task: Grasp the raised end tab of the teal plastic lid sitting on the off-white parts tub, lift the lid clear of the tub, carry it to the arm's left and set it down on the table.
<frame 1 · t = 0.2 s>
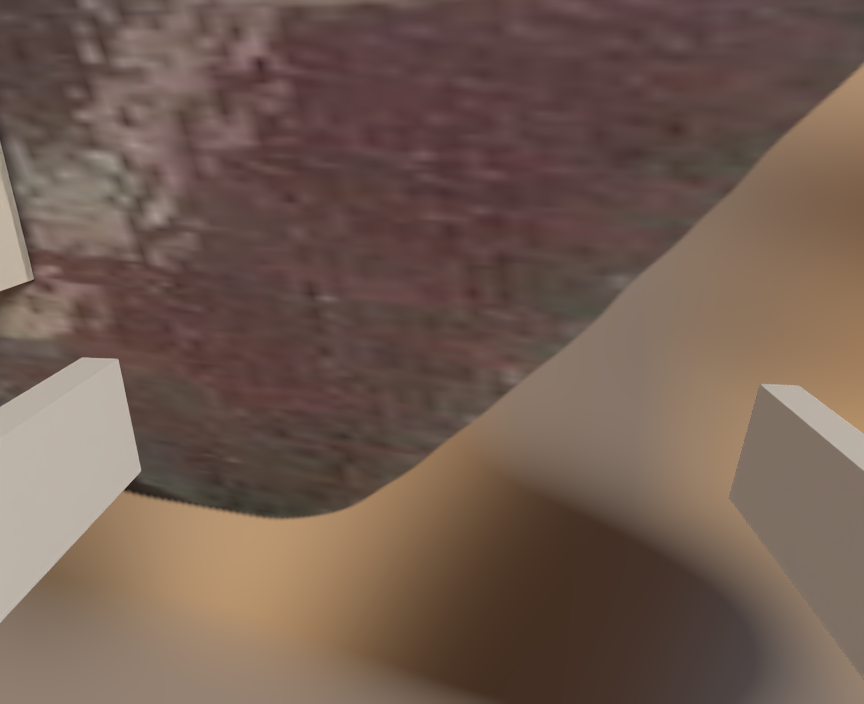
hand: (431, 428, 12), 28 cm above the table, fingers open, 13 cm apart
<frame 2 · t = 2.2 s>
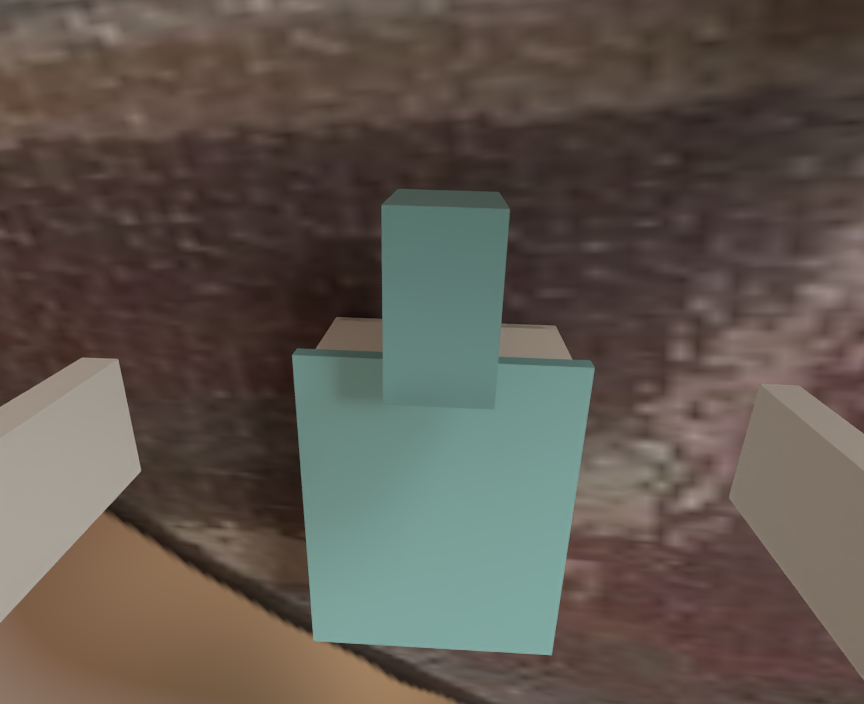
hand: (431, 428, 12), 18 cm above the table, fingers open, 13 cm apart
tub: (440, 447, 33), on the table
lid: (436, 511, 28), point 6 cm above the table, touching tub
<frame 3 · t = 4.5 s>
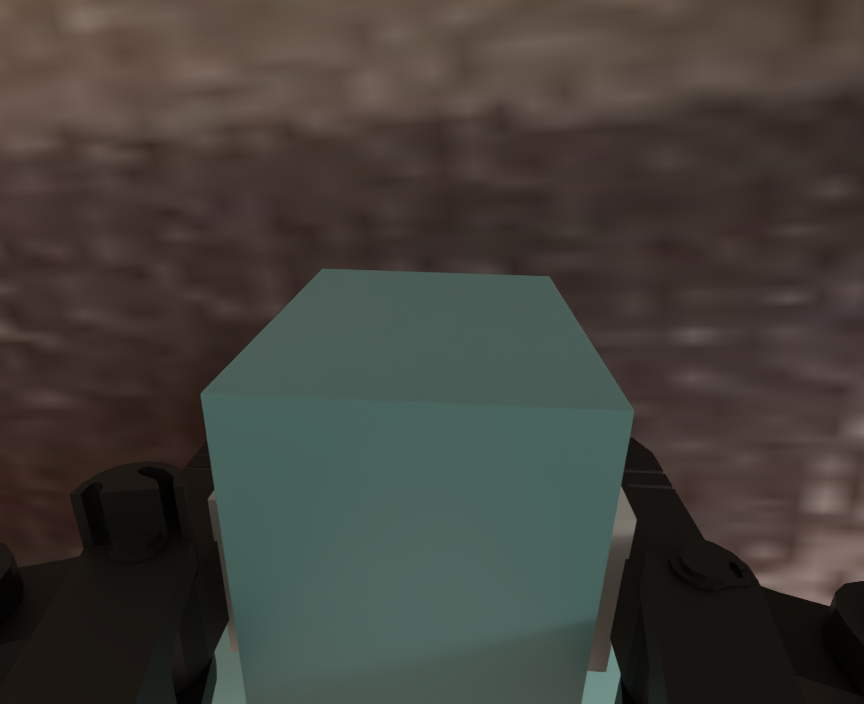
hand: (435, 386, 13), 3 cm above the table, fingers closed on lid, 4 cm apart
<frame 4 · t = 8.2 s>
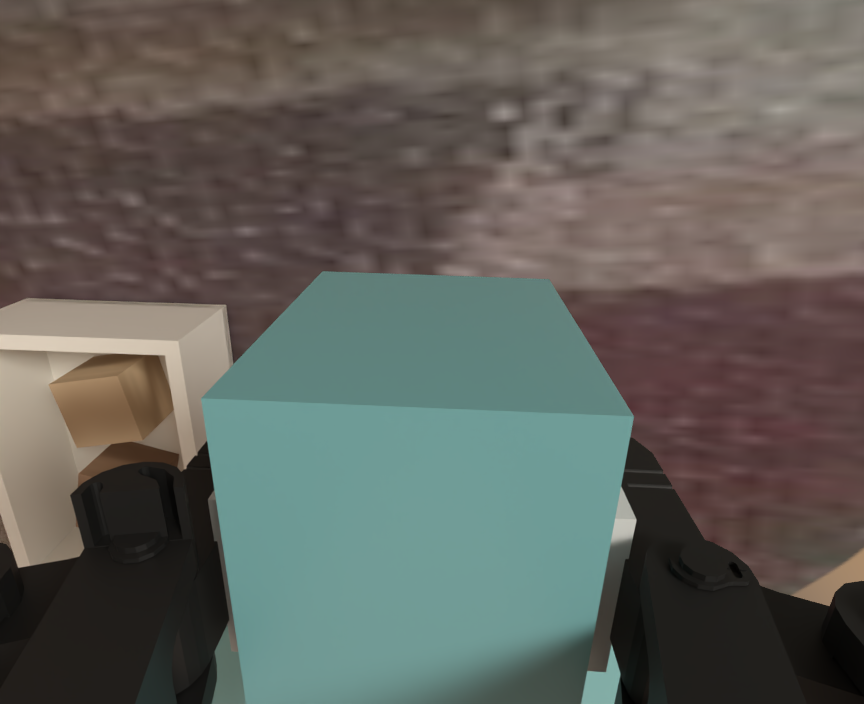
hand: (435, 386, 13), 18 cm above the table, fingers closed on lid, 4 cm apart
tub: (149, 420, 36), on the table
block a: (135, 382, 34), point 1 cm above the table, touching tub
block b: (146, 470, 36), point 1 cm above the table, touching tub
when the fingers open (0 cm above the table, at t = 12.2 s): lid drops 3 cm, on the table.
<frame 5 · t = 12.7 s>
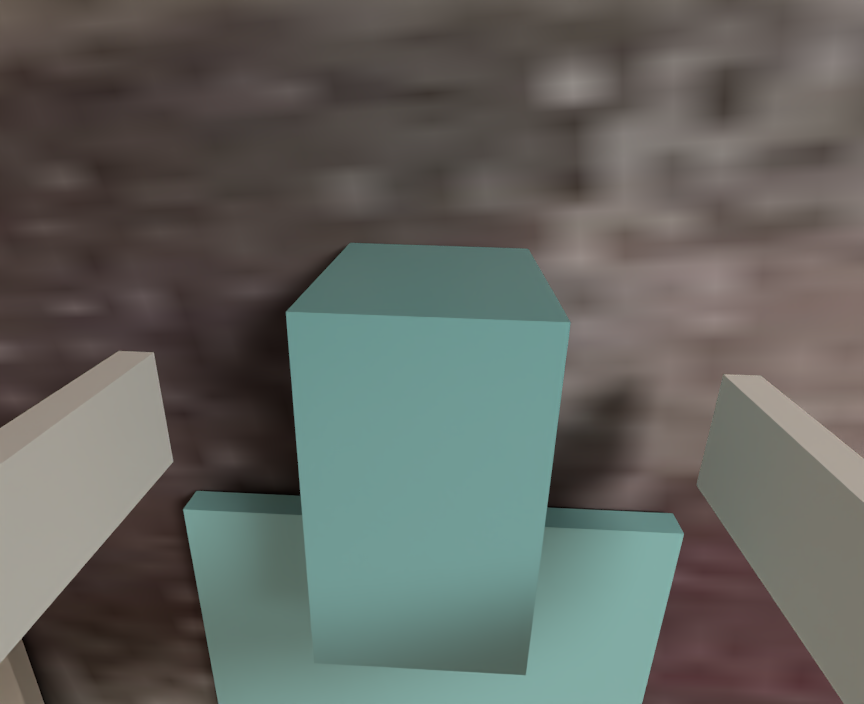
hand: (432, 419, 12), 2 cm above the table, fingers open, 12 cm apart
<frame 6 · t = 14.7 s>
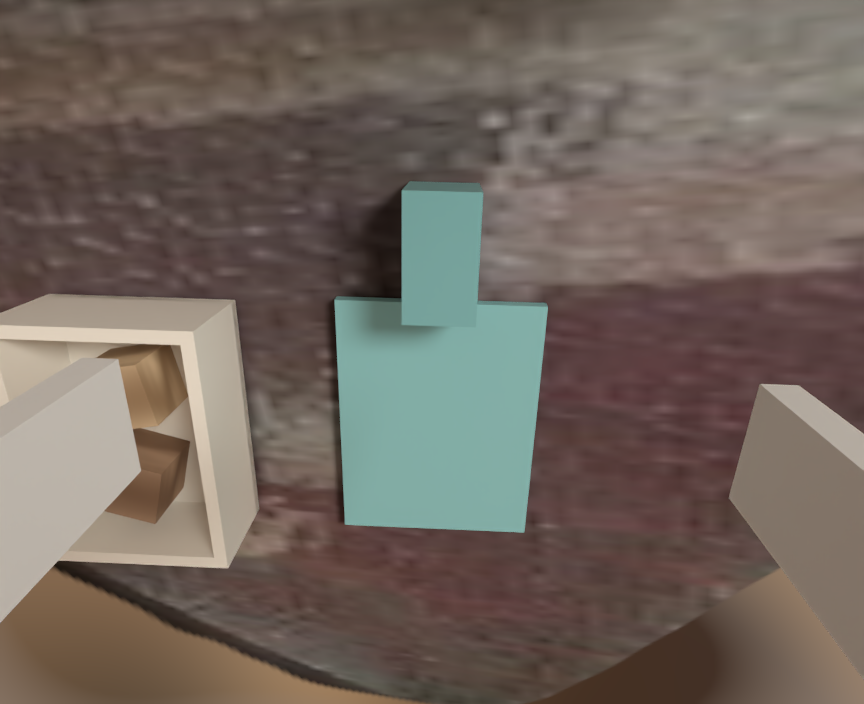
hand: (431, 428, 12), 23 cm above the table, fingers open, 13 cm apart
tub: (161, 409, 38), on the table
block a: (150, 372, 36), point 1 cm above the table, touching tub
lid: (437, 419, 37), on the table
block b: (158, 457, 39), point 1 cm above the table, touching tub
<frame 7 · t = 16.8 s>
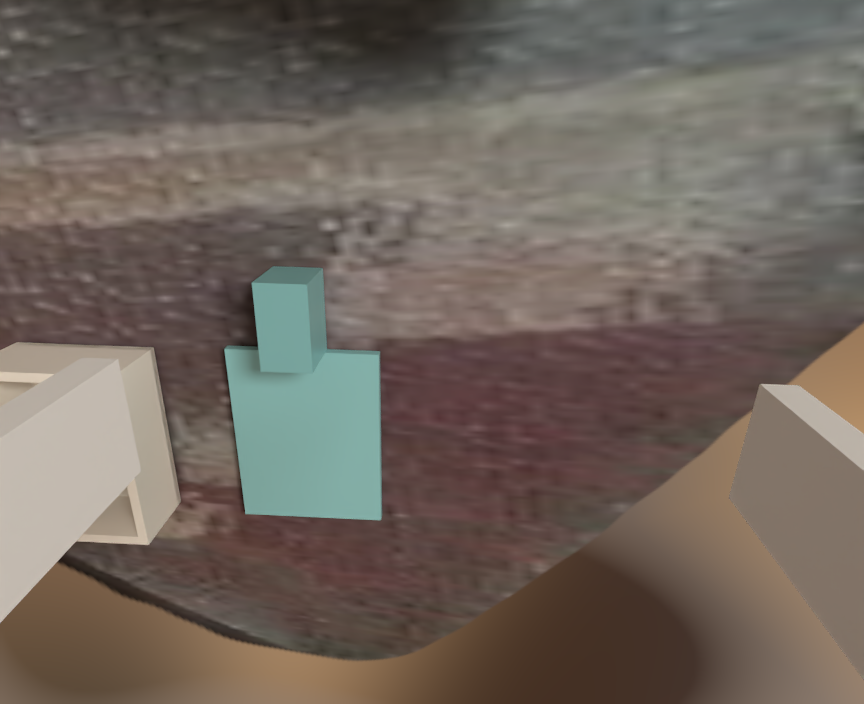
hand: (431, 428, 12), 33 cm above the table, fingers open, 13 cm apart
tub: (103, 426, 50), on the table
lid: (309, 435, 50), on the table
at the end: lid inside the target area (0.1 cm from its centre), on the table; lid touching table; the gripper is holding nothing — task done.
